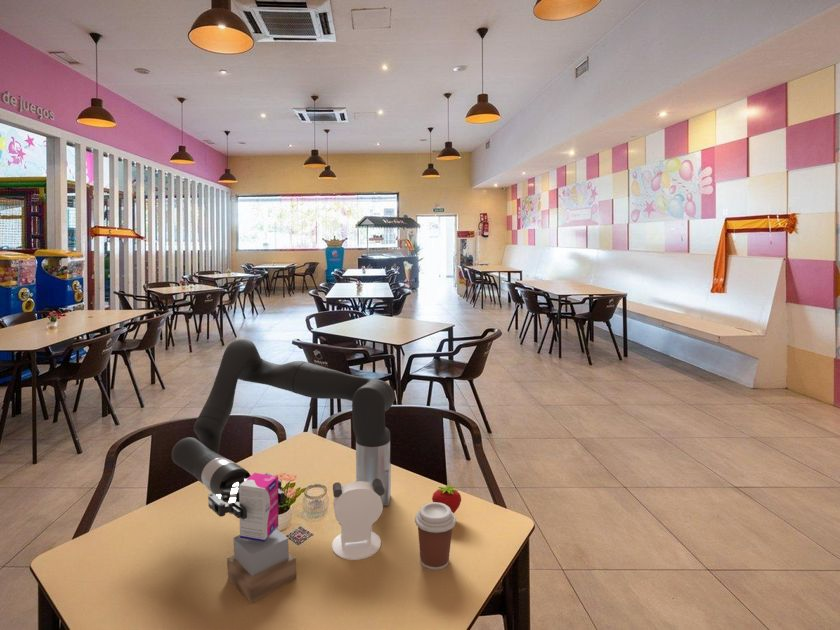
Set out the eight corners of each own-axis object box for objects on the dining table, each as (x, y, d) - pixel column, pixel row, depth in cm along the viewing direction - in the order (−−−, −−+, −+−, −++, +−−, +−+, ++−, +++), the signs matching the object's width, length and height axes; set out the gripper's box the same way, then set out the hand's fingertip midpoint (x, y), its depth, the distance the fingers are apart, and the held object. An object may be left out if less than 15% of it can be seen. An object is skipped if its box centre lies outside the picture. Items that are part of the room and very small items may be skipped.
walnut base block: (228, 580, 100) (227, 558, 99) (271, 558, 107) (270, 537, 106) (251, 605, 93) (250, 581, 92) (296, 579, 100) (295, 557, 99)
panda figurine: (379, 527, 119) (379, 470, 117) (387, 555, 108) (387, 493, 106) (330, 533, 116) (329, 475, 114) (333, 563, 105) (332, 499, 103)
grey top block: (234, 557, 99) (233, 537, 99) (269, 541, 105) (269, 522, 104) (252, 576, 94) (251, 555, 93) (288, 558, 99) (288, 538, 99)
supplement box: (265, 542, 95) (264, 488, 93) (239, 538, 96) (236, 485, 94) (280, 526, 100) (278, 475, 99) (254, 522, 102) (252, 471, 100)
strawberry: (431, 511, 126) (431, 476, 125) (459, 512, 126) (460, 476, 125) (432, 524, 120) (432, 487, 119) (461, 524, 120) (463, 487, 119)
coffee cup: (459, 552, 109) (460, 503, 108) (448, 578, 101) (449, 525, 99) (421, 544, 112) (422, 496, 111) (408, 568, 104) (408, 517, 102)
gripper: (192, 474, 101) (229, 502, 90) (254, 453, 111) (294, 476, 101) (194, 507, 102) (231, 539, 91) (255, 483, 112) (295, 509, 102)
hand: (264, 506), depth 96 cm, fingers closed on supplement box, 7 cm apart
